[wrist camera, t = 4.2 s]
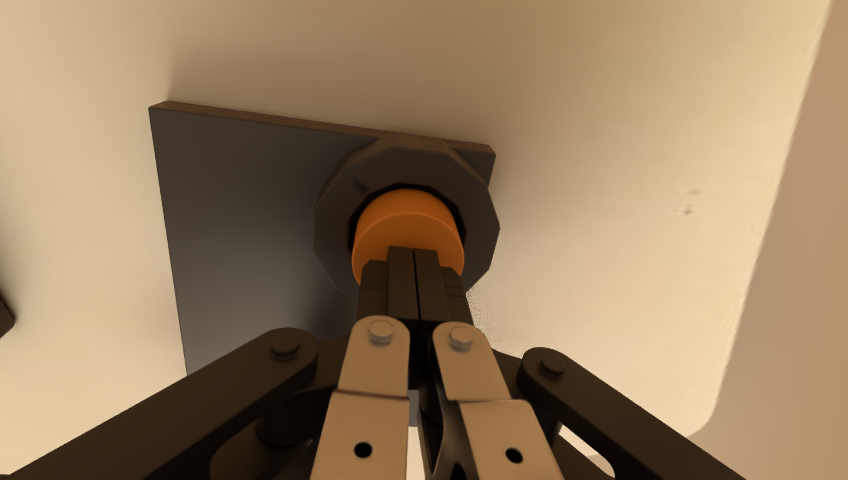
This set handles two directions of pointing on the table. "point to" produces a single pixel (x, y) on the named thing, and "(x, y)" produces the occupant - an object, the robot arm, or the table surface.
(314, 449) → the monitor stand
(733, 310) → the table surface
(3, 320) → the calculator
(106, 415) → the table surface
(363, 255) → the power button
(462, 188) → the monitor base
